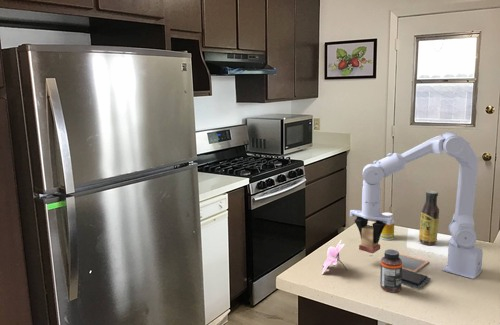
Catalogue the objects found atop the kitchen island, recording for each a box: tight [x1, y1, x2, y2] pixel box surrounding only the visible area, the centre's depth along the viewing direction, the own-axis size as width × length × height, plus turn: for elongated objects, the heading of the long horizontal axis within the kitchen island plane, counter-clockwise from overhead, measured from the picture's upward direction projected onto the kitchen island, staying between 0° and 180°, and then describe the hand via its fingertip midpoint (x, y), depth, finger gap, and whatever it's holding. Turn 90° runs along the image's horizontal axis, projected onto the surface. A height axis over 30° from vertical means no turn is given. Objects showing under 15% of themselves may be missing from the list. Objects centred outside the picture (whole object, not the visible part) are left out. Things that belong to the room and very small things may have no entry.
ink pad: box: [401, 269, 432, 290], centre depth 132 cm, size 10×8×1 cm
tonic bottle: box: [418, 189, 440, 246], centre depth 160 cm, size 6×6×20 cm
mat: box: [399, 252, 430, 273], centre depth 144 cm, size 11×11×1 cm
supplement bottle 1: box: [380, 211, 395, 241], centre depth 167 cm, size 5×5×10 cm
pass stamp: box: [358, 224, 381, 254], centre depth 143 cm, size 5×5×8 cm
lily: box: [321, 239, 348, 275], centre depth 140 cm, size 12×12×10 cm
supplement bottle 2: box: [379, 248, 402, 293], centre depth 126 cm, size 6×6×11 cm
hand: (369, 240), depth 143 cm, fingers closed on pass stamp, 4 cm apart
